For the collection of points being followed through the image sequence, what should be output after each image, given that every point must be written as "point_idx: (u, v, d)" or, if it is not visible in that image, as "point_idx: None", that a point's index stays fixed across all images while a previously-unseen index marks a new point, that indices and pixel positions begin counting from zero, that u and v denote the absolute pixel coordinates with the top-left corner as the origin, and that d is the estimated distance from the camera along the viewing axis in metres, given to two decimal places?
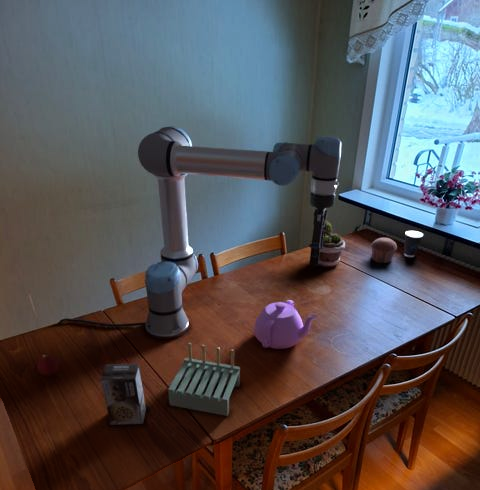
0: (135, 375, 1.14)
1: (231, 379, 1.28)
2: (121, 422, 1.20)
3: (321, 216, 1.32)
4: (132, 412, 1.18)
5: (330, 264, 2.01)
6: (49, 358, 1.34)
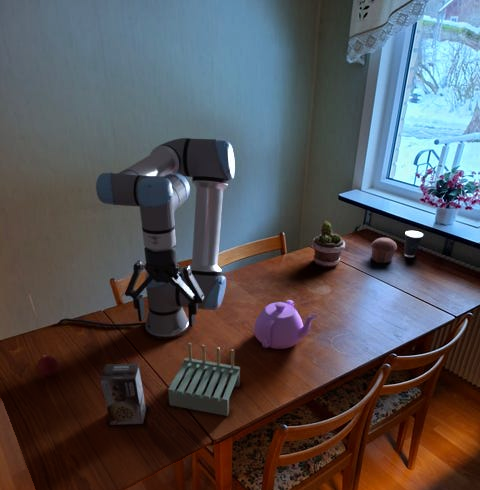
0: (135, 375, 1.14)
1: (231, 379, 1.28)
2: (121, 422, 1.20)
3: None
4: (132, 412, 1.18)
5: (330, 264, 2.01)
6: (49, 358, 1.34)
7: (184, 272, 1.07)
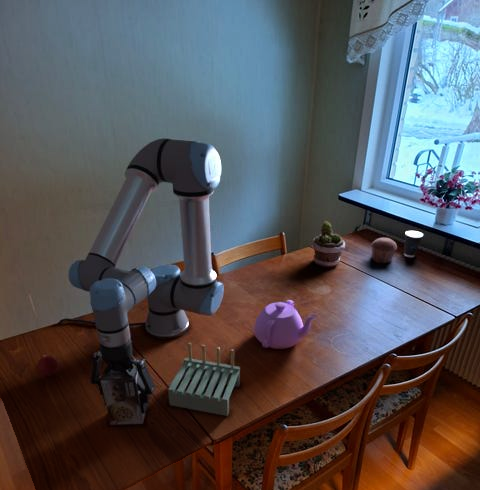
0: (135, 375, 1.14)
1: (231, 379, 1.28)
2: (121, 422, 1.20)
3: None
4: (132, 412, 1.18)
5: (330, 264, 2.01)
6: (49, 358, 1.34)
7: (138, 367, 1.11)
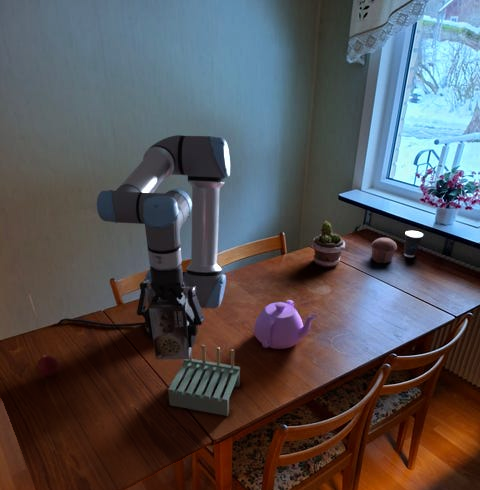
0: (184, 304, 1.09)
1: (231, 379, 1.28)
2: (167, 357, 1.16)
3: None
4: (180, 345, 1.14)
5: (330, 264, 2.01)
6: (49, 358, 1.34)
7: (189, 293, 1.06)
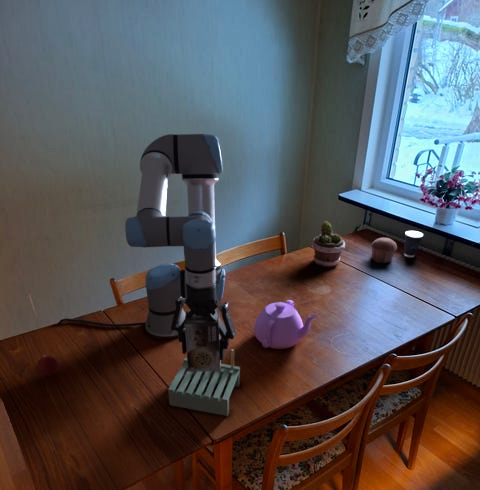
0: (217, 320, 1.15)
1: (231, 379, 1.28)
2: (199, 369, 1.22)
3: None
4: (212, 358, 1.20)
5: (330, 264, 2.01)
6: (49, 358, 1.34)
7: (222, 310, 1.12)
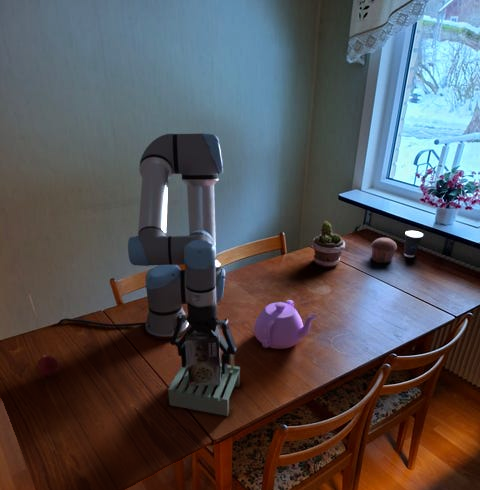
0: (218, 336, 1.18)
1: (231, 379, 1.28)
2: (200, 384, 1.25)
3: None
4: (212, 373, 1.23)
5: (330, 264, 2.01)
6: (49, 358, 1.34)
7: (223, 326, 1.15)
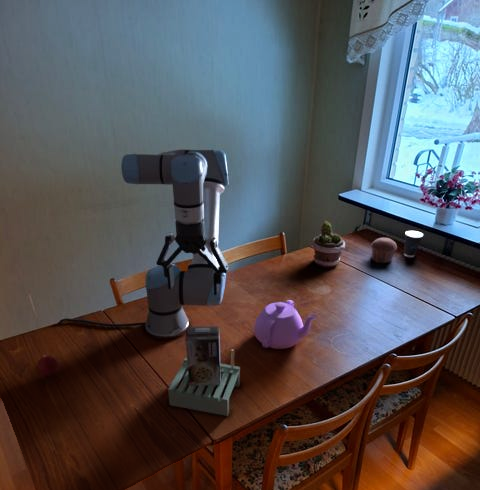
0: (218, 336, 1.18)
1: (231, 379, 1.28)
2: (200, 384, 1.25)
3: None
4: (212, 373, 1.23)
5: (330, 264, 2.01)
6: (49, 358, 1.34)
7: (211, 244, 1.17)
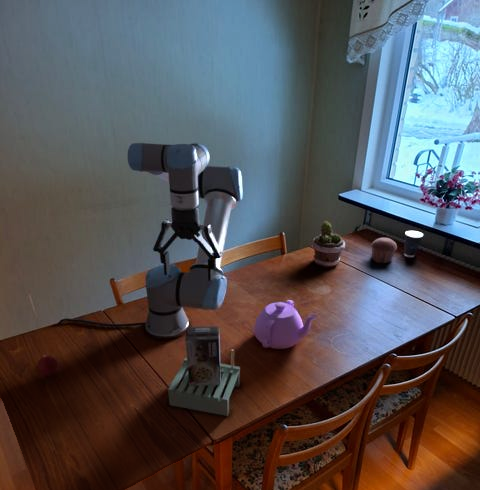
0: (218, 336, 1.18)
1: (231, 379, 1.28)
2: (200, 384, 1.25)
3: None
4: (212, 373, 1.23)
5: (330, 264, 2.01)
6: (49, 358, 1.34)
7: (205, 230, 1.22)
